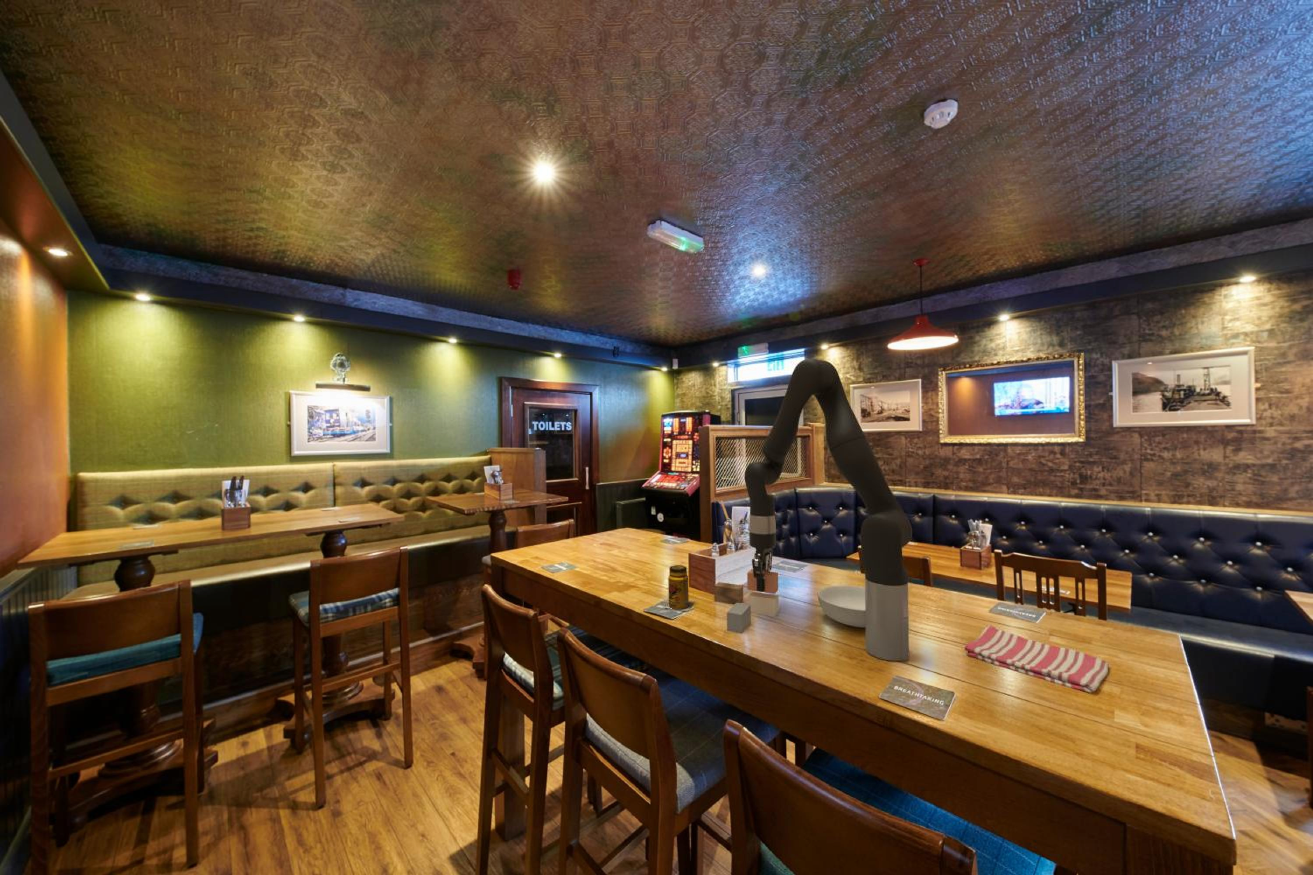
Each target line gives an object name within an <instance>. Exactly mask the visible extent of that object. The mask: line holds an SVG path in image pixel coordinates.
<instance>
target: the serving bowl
mask: <svg viewBox="0 0 1313 875" xmlns="http://www.w3.org/2000/svg"><path fill="white" fill-rule="evenodd" d="M817 600H818V603H819V605H820V608H821V610H822V612H824V614H826V615H827V616H828V617H829V618H831V619H832V620H834V621H836V622H839V623H841V624H844V625H848V626H851V627H855V628H862V629H863V628H864V629H865V586H859V585H845V584H844V585H843V584H842V585H841V584H840V585H838V584H837V585H830V586H825V587H823V588H820V589H819V590H818V591H817Z"/></svg>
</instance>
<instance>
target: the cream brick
mask: <svg viewBox="0 0 1313 875" xmlns="http://www.w3.org/2000/svg"><path fill="white" fill-rule="evenodd" d="M779 597H780V596H779V595H778V594H772V593H765V592H758V591H752V590H750V593H748V595H747V604H748V605H751V614H756V615H762V616H763V615H764V616H770V617H777V615H778V614H779V612H780V610H779V608H780V607H779V605H780V604H779V602H780V601H779Z"/></svg>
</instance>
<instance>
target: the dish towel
mask: <svg viewBox="0 0 1313 875" xmlns="http://www.w3.org/2000/svg"><path fill="white" fill-rule="evenodd" d="M964 651H966V652H967V653H966V654H967V657H970V658H974V659H975V658H976V659H978V660H980V661H983V662H986V663H988V664H991V665H994V666H998V667H1001V668H1005V669H1008V670H1012V671H1015V672H1017V673H1020V674H1023V675H1027V676H1031V677H1034V678H1038V679H1042V680H1044V681H1046V682H1050V683H1053V684H1057V685H1060V686H1063V687H1066V688H1070V689H1073V690H1077V691H1081V692H1085V693H1090V694H1092V693H1095V691H1097V689H1098V688H1099V686H1100V683H1101V682H1102V681H1103V680H1104V679H1105V678H1106V676H1107V675H1108V673H1109V668H1110V666H1109V663H1108V662H1107V661H1105V660H1103V659H1101V658H1099V657H1097V656H1092V655H1090V654H1088V653H1085V652H1081V651H1079V650H1078V651H1077V650H1075V649H1071V648H1066V647H1059V646H1055V645H1050V644H1045V643H1043V642H1040V641H1035V640H1032V639H1027V638H1024V637H1023V636H1020V635H1018V634H1016V633H1011V632H1008V631H1004V630H1003V629H997V628H996V627H995V626H993V625H991V624H989V626H986V627H985V628H984V629H983V630H982V632H981V633H980V635H979V637H977V638H976V639H975V640H973V641H969V642H968V643H966V644H965V646H964Z"/></svg>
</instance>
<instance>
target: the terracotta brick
mask: <svg viewBox="0 0 1313 875" xmlns="http://www.w3.org/2000/svg"><path fill="white" fill-rule="evenodd" d="M758 574H760V572H758ZM746 576H747V578H746V580H747V581H746V583H747V586H746V587H747V588H746V589H747V591H753V592H759V593H761V592H760V591H757V578H754V575H753V568H752V569H750V570H749V571H748V572H747V575H746ZM778 591H779V572H778V571H777V572H776V571H775V572H774V571H770V572H769V571H765V591H764V592H763V593H766V594H773V595H776V593H777V592H778Z"/></svg>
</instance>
